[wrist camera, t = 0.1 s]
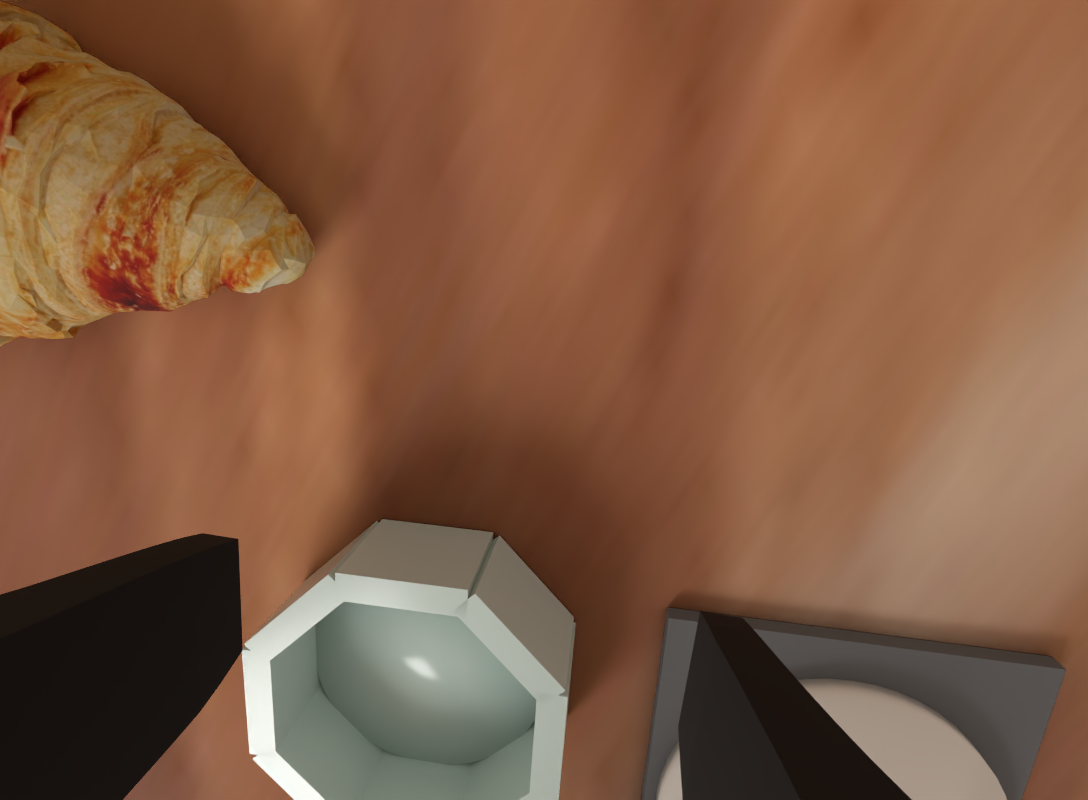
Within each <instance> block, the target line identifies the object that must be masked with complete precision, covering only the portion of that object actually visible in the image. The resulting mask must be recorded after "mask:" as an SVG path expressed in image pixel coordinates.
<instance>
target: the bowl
mask: <svg viewBox="0 0 1088 800" xmlns="http://www.w3.org/2000/svg"><path fill="white" fill-rule="evenodd" d="M575 628H576V623H575V622H574V617H573V615H572V614H571V613H570V612H569V611H568V610H567V609H566V608H565V607H564V606H563V604H562V603H561V602H560V601H559V600H558V599H557V598H556V597H555V596H554V595H553V593H552V592H551V591H550V590H549V589H548V588H547V587H546V586H545V585H544V584H543V583H542V581H541V580H540V579H539V578H538V577H537V576H536V575H535V574H534V573H533V572H532V570H531V569H530V568H529V567H528V566H527V565H526V564H525V563H524V562H523V561H522V560H521V558H520V557H519V556H518V555H517V554H516V553H515V552H514V551H513V550H512V549H511V547H510V546H509V545H508V544H507V543H506V542H505V541H504V540H503V539H502V538H501V537H500V535H499V536H498V537H496V538H495V539H494V540H493V532H487V531H479V530H470V529H462V528H454V527H445V526H437V525H428V524H420V523H411V522H403V521H395V520H386V519H382V520H381V521H380V522H379V523H378V521H376V522H375V523H373V524H372V525H371V526H370V527H369V528H367V529H366V530H365V531H364V532H363V533H361V534H360V535H359V536H358V537H357V538H355V539H354V540H353V541H352V542H351V543H349V544H348V545H347V546H346V547H345V548H343V549H342V550H341V551H340V552H339V553H337V554H336V555H335V556H334V557H333V558H331V559H330V560H329V561H328V562H327V563H325V564H324V565H323V566H322V567H321V568H319V569H318V570H317V571H316V572H315V573H314V574H312V575H311V576H310V577H309V578H308V579H306V580H305V581H304V582H303V583H302V584H301V585H300V586H299V587H298V588H297V589H296V590H295V591H294V592H293V593H292V594H291V596H290V597H289V598H288V599H287V600H286V601H285V602H284V603H283V604H282V605H281V606H280V607H279V608H278V609H277V610H276V611H275V612H274V613H273V614H272V615H271V616H270V617H269V619H268V620H267V621H266V622H265V623H264V624H263V625H262V626H261V627H260V628H259V629H258V630H257V631H256V632H255V633H254V634H253V635H252V636H251V637H250V638H249V639H248V640H247V641H246V643H245V644H244V645H245V647H244V648H243V649H242V659H243V672H244V686H245V699H246V713H247V726H248V739H249V753H250V754H255V756H254V758H253V760H254V761H255V762H256V763H257V764H258V765H259V766H260V767H261V768H262V769H263V770H264V771H265V772H266V773H267V774H268V775H269V776H270V777H271V778H272V779H274V780H275V781H276V782H277V783H278V784H279V785H280V786H281V787H282V788H283V789H284V790H285V791H286V792H287V793H288V794H289V795H290V796H291V797H292V798H293V799H294V800H559V792H560V782H561V772H562V763H563V753H564V744H565V734H566V724H567V715H568V704H569V693H570V682H571V672H572V661H573V650H574V639H575Z"/></svg>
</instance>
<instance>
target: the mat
mask: <svg viewBox="0 0 1088 800" xmlns="http://www.w3.org/2000/svg"><path fill="white" fill-rule="evenodd" d="M699 614H700V611H693V610H685V609H677V608H669V607H667V613H666V621H665V628H664V635H663V643H662V650H661V657H660V665H659V672H658V679H657V686H656V694H655V701H654V708H653V716H652V723H651V730H650V738H649V745H648V752H647V759H646V767H645V774H644V781H643V789H642V796H641V800H656V792H657V787H658V783H659V778H660V774H661V772H662V769H663V767H664V765H665V762H666V760H667V758H668V756H669V754H670V753H671V751H672V750H673V748H674V746H675V745H676V743H677V742H678V741H679V734H678V724H679V719H680V714H681V708H682V703H683V698H684V693H685V687H686V682H687V677H688V672H689V666H690V661H691V656H692V651H693V645H694V640H695V635H696V630H697V624H698V619H699ZM722 615H724V614H722ZM729 616H732V615H729ZM735 617H739V616H735ZM742 618H743V619H744V620H745V621H746V622H747V623H748V624H749V625H750V626H751V627H752V628H753V629H754V631H755V632H756V633H757V634H758V635H759V636H760V637H761V638H762V640H763V641H764V642H765V643H766V644H767V645H768V647H769V648H770V649H771V650H772V651H773V652H774V653H775V655H776V656H777V657H778V658H779V659H780V660H781V661H782V663H783V664H784V665H785V666H786V667H787V668H788V669H789V671H790V672H791V673H792V674H793V675H794V676H795V677H796V679H797V680H801V679H841V680H852V681H858V682H863V683H868V684H873V685H877V686H881V687H884V688H887V689H890V690H894V691H897V692H900V693H902V694H904V695H906V696H909V697H911V698H913V699H915V700H918V701H920V702H922V703H923V704H925V705H927V706H928V707H930V708H932V709H933V710H935V711H937V712H938V713H940V714H941V715H942V716H944V717H945V718H946V719H947V720H949V721H950V722H951V723H953V724H954V725H955V726H956V727H957V728H958V729H959V730H960V731H961V732H962V733H963V734H964V735H965V736H966V737H967V738H968V739H969V740H970V741H971V743H972V744H973V745H974V747H975V748H976V750H977V751H978V752H979V754H980V755H981V756H982V758H983V759H984V760H985V762H986V763H987V765H988V766H989V767H990V769H991V770H992V772H993V773H994V774H995V776H996V777H997V779H998V781H999V783H1000V785H1001V787H1002V789H1003V791H1004V793H1005V795H1006V798H1007V800H1021V799H1022V796H1023V794H1024V791H1025V788H1026V785H1027V782H1028V779H1029V776H1030V773H1031V770H1032V767H1033V765H1034V762H1035V759H1036V756H1037V753H1038V750H1039V747H1040V744H1041V741H1042V738H1043V735H1044V733H1045V730H1046V727H1047V724H1048V721H1049V718H1050V715H1051V712H1052V709H1053V706H1054V704H1055V701H1056V698H1057V695H1058V692H1059V689H1060V686H1061V683H1062V680H1063V677H1064V675H1065V672H1066V669H1065V668H1064V667H1063V666H1062V665H1060V664H1059V663H1058V662H1057V661H1056V660H1055V659H1054V658H1053V657H1051V656H1043V655H1036V654H1028V653H1020V652H1012V651H1004V650H997V649H989V648H981V647H973V646H966V645H958V644H950V643H942V642H934V641H927V640H919V639H911V638H903V637H895V636H888V635H880V634H872V633H864V632H856V631H849V630H841V629H833V628H825V627H817V626H810V625H802V624H794V623H786V622H778V621H771V620H763V619H755V618H747V617H742Z"/></svg>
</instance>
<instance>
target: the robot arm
mask: <svg viewBox="0 0 1088 800" xmlns="http://www.w3.org/2000/svg"><path fill="white" fill-rule="evenodd" d="M241 652H242V625H241V599H240V573H239V547H238V539H235V538H229V537H222V536H216V535H209V534H203V533H202V534H197V535H193V536H188V537H184V538H180V539H176V540H173V541H169V542H166V543H162V544H159V545H155V546H152V547H149V548H146V549H142V550H139V551H136V552H133V553H130V554H127V555H123V556H120V557H117V558H114V559H111V560H108V561H105V562H102V563H99V564H96V565H93V566H89V567H86V568H83V569H80V570H77V571H74V572H71V573H68V574H65V575H62V576H59V577H56V578H53V579H49V580H46V581H43V582H40V583H37V584H34V585H31V586H28V587H25V588H21V589H18V590H15V591H11V592H8V593H5V594H1V595H0V800H123V799H124V798H125V796H126V795H127V794H128V793H129V792H130V791H131V790H132V789H133V787H134V786H135V785H136V784H137V783H138V782H139V781H140V780H141V779H142V777H143V776H144V775H145V774H146V773H147V772H148V771H149V770H150V768H151V767H152V766H153V765H154V764H155V763H156V762H157V761H158V759H159V758H160V757H161V756H162V755H163V754H164V753H165V751H166V750H167V749H168V748H169V747H170V746H171V745H172V743H173V742H174V741H175V740H176V739H177V738H178V737H179V735H180V734H181V733H182V732H183V731H184V730H185V729H186V727H187V726H188V725H189V724H190V723H191V722H192V720H193V719H194V718H195V717H196V716H197V715H198V713H199V712H200V711H201V710H202V708H203V707H204V705H205V704H206V703H207V701H208V700H209V699H210V697H211V696H212V694H213V693H214V692H215V690H216V689H217V687H218V686H219V685H220V683H221V682H222V680H223V679H224V677H225V676H226V674H227V673H228V671H229V670H230V668H231V667H232V665H233V664H234V662H235V661H236V659H237V658H238V656H239V655H240V653H241ZM678 734H679V752H680V769H681V784H682V798H683V800H912V799H911V798H910V797H909V796H908V795H907V794H906V793H905V792H904V791H903V790H902V789H901V788H900V787H899V786H898V785H897V784H896V783H895V782H894V781H893V780H892V779H891V778H890V777H888V776H887V775H886V774H885V773H884V772H883V771H882V770H881V769H880V768H879V767H878V766H877V765H876V764H875V763H874V762H873V761H872V760H871V759H870V758H869V757H868V755H867V754H866V753H865V752H864V751H863V750H862V749H861V748H860V747H859V746H858V745H857V744H856V743H855V742H854V741H853V740H852V739H851V738H850V737H849V736H848V735H847V734H846V732H845V731H844V730H843V729H842V728H841V727H840V726H839V725H838V724H837V723H836V722H835V721H834V720H833V719H832V717H831V716H830V715H829V714H828V713H827V712H826V711H825V710H824V709H823V708H822V707H821V705H820V704H819V703H818V702H817V701H816V700H815V699H814V698H813V697H812V695H811V694H810V693H809V692H808V691H807V690H806V689H805V688H804V687H803V685H802V684H801V683H800V682H799V681H798V680H797V679H796V677H795V676H794V675H793V674H792V673H791V672H790V671H789V669H788V668H787V667H786V666H785V665H784V664H783V663H782V661H781V660H780V659H779V658H778V657H777V656H776V655H775V653H774V652H773V651H772V650H771V649H770V648H769V647H768V645H767V644H766V643H765V642H764V641H763V640H762V638H761V637H760V636H759V635H758V634H757V633H756V632H755V631H754V629H753V628H752V627H751V626H750V625H749V624H748V623H747V622H746V621H745V620H744V619H743V618H742V617H735V616H729V615H722V614H716V613H709V612H703V611H700V614H699V619H698V624H697V630H696V635H695V640H694V645H693V651H692V656H691V661H690V666H689V672H688V677H687V682H686V687H685V693H684V698H683V703H682V708H681V714H680V719H679V724H678Z"/></svg>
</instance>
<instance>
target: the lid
mask: <svg viewBox="0 0 1088 800" xmlns="http://www.w3.org/2000/svg"><path fill="white" fill-rule="evenodd" d="M798 681H799V682H800V683H801V684H802V685H803V687H804V688H805V689H806V690H807V691H808V692H809V693H810V694H811V695H812V697H813V698H814V699H815V700H816V701H817V702H818V703H819V704H820V705H821V707H822V708H823V709H824V710H825V711H826V712H827V713H828V714H829V715H830V716H831V717H832V719H833V720H834V721H835V722H836V723H837V724H838V725H839V726H840V727H841V728H842V729H843V730H844V731H845V732H846V734H847V735H848V736H849V737H850V738H851V739H852V740H853V741H854V742H855V743H856V744H857V745H858V746H859V747H860V748H861V749H862V750H863V751H864V752H865V753H866V754H867V755H868V757H869V758H870V759H871V760H872V761H873V762H874V763H875V764H876V765H877V766H878V767H879V768H880V769H881V770H882V771H883V772H884V773H885V774H886V775H887V776H888V777H890V778H891V779H892V780H893V781H894V782H895V783H896V784H897V785H898V786H899V787H900V788H901V789H902V790H903V791H904V792H905V793H906V794H907V795H908V796H909V797H910V798H911V799H912V800H1007V798H1006V795H1005V793H1004V791H1003V789H1002V787H1001V785H1000V783H999V781H998V779H997V777H996V776H995V774H994V773H993V772H992V770H991V769H990V767H989V766H988V765H987V763H986V762H985V760H984V759H983V758H982V756H981V755H980V754H979V752H978V751H977V750H976V748H975V747H974V745H973V744H972V743H971V741H970V740H969V739H968V738H967V737H966V736H965V735H964V734H963V733H962V732H961V731H960V730H959V729H958V728H957V727H956V726H955V725H954V724H953V723H951V722H950V721H949V720H947V719H946V718H945V717H944V716H942V715H941V714H940V713H938V712H937V711H935V710H933V709H932V708H930V707H928V706H927V705H925V704H923V703H922V702H920V701H918V700H915V699H913V698H911V697H909V696H906V695H904V694H902V693H900V692H897V691H894V690H890V689H887V688H884V687H881V686H877V685H873V684H868V683H863V682H858V681H852V680H841V679H801V680H798ZM656 800H683V798H682V784H681V769H680V752H679V741H678V742H677V743H676V745H675V746H674V748H673V750H672V751H671V753H670V754H669V756H668V758H667V760H666V762H665V765H664V767H663V769H662V772H661V774H660V778H659V783H658V787H657V792H656Z"/></svg>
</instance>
